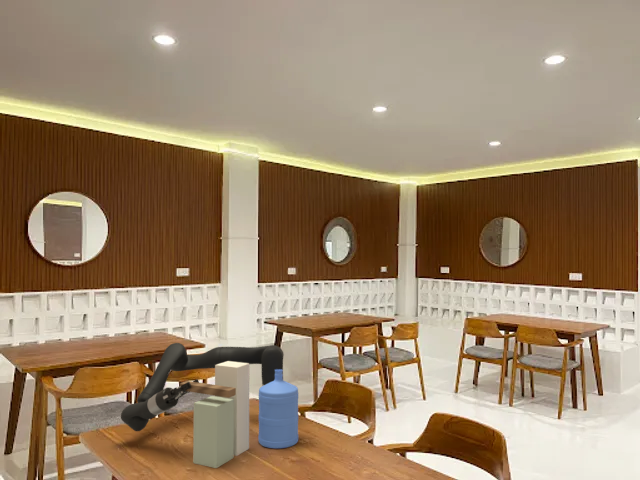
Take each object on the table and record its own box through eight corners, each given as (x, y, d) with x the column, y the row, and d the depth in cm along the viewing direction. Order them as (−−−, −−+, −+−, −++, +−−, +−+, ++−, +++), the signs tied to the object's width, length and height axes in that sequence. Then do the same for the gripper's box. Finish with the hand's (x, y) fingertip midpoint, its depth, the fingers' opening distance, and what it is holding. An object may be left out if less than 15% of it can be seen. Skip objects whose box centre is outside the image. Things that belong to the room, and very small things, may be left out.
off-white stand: (214, 451, 191) (215, 365, 191) (227, 444, 198) (227, 361, 199) (236, 455, 186) (237, 367, 187) (249, 448, 193) (249, 363, 194)
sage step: (193, 463, 180) (193, 402, 180) (211, 453, 189) (211, 395, 189) (216, 468, 175) (216, 406, 176) (233, 457, 184) (233, 399, 185)
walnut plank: (179, 390, 187) (179, 383, 187) (187, 387, 191) (187, 380, 191) (228, 397, 177) (228, 390, 177) (235, 394, 181) (235, 387, 181)
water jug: (292, 450, 191) (292, 375, 192) (252, 447, 194) (253, 373, 195) (302, 436, 206) (302, 366, 207) (265, 433, 210) (265, 365, 210)
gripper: (145, 396, 188) (176, 377, 181) (172, 387, 200) (202, 369, 194) (152, 416, 186) (184, 397, 179) (179, 405, 199) (210, 388, 192)
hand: (193, 383), depth 187 cm, fingers closed on walnut plank, 4 cm apart
